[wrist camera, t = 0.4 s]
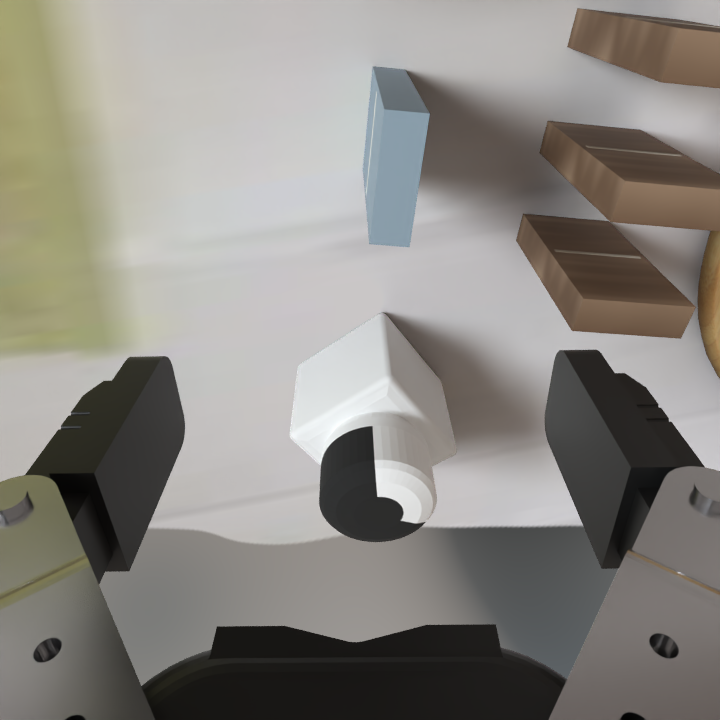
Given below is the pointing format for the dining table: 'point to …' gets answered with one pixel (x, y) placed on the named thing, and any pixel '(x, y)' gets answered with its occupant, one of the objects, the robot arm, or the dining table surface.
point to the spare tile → (393, 156)
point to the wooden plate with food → (710, 300)
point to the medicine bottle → (373, 431)
